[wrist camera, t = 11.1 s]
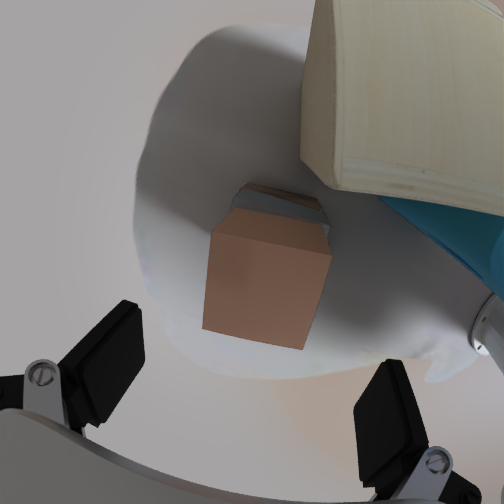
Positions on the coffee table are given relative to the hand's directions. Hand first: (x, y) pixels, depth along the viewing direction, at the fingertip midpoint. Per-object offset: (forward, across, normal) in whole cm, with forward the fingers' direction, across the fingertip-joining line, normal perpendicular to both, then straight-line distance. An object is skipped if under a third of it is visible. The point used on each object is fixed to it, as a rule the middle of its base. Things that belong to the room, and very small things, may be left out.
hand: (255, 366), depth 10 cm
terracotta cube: (+11, +1, 0) cm, 11 cm away
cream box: (+20, -3, -11) cm, 23 cm away
